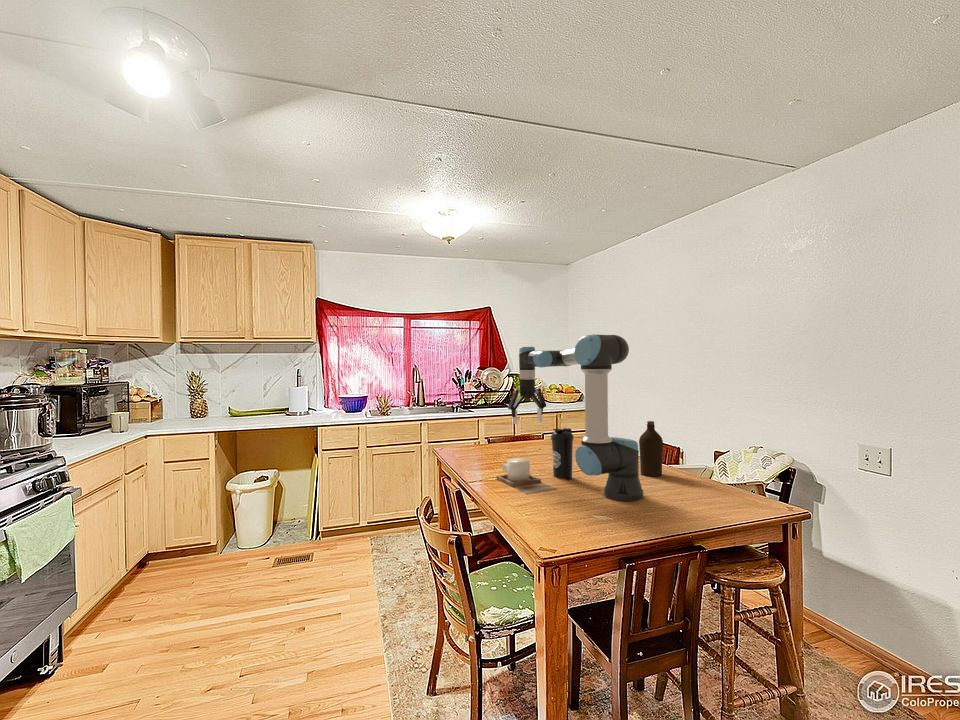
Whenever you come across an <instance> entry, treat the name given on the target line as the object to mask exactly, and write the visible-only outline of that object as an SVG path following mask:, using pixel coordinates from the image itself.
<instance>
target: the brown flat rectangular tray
mask: <svg viewBox="0 0 960 720" xmlns="http://www.w3.org/2000/svg"><path fill="white" fill-rule="evenodd" d="M496 480H497V481H499V482H501V483H503V484H505V485H507V486H509V487H511V488H513V489H516V490H517V491H519V492H521V493H523V494H526V495H533V494H539V493H544V492H545V493H546V492H550V491H555V490H558V488H556V487H553V486H552V485H549V484H547V483H544V482H542V479H541V478H539V477H537V476H535V475H532V474H530V480H528V481H521V482H515V483H513V482H511V481H509V480H507V474H501V475H496Z"/></svg>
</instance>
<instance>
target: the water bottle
mask: <svg viewBox="0 0 960 720" xmlns="http://www.w3.org/2000/svg"><path fill="white" fill-rule="evenodd" d="M550 440H551V447H552V448H551V451H552V452H551V453H552V454H551V456H552V472H553V475H552V476H553V477H554V478H556V479H565V480H567V481H571V480H572V479H573V451H574V450H573V449H574V448H573V446H574V444H573V443H574V435H573V433H572V428H570V427H564V428H553V432H552V433H551V435H550Z"/></svg>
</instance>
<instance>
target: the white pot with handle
mask: <svg viewBox="0 0 960 720" xmlns="http://www.w3.org/2000/svg"><path fill="white" fill-rule="evenodd" d="M530 465H531V464H530V459H528V458H524V457H523V458H522V457H517V458H515V457H514V458H509V459H507V460H506V463H501V468H502V469H501V471H503V472H505V473H507V474H506V475H507V480H509V481H511V482H513V483H515V482H521V481H528V480H530V475H531V471H530V470H531V469H530Z"/></svg>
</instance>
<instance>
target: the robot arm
mask: <svg viewBox="0 0 960 720" xmlns="http://www.w3.org/2000/svg"><path fill="white" fill-rule="evenodd" d="M629 347H630V346H629V344H628V342H627V341H626V340H625V338H624V337H623V336H621V335H617V334H587V335H583V336H581V337H580V338H579V340H578V341H577V342H576V344H575V347H573V348H567V349H562V350H541V349H540V350H536V347H535V346H520V347H519V349H518V351H519V353H518V362H519V363H518V364H519V365H518V366H519V367H518V368H519V371H518V372H519V376H518V377H519V383H518V385H519V389H515V388H514V389H513V394H512V397H511V398H510V401H509V403H508V406H507V409H508V410H511V417H512V424H513V425H518V410H517V409H518V407H519V405H520V404H521V403H522V401H523V400H524V399H531V400H533V402H534V403H535V405H536V406H537V408H536V409H537V411H536V414H537V415H536V416H537V417H536V418H537V421H536V422H538V423H542V422H543V419H542V416H543V414H544V409H545V408H546V407H547V404H546V402H545V399H544V396H543V394H542V390H541V388H539V387H536V380H535V378H536V368H537V367H538V368H547V367H548V368H549V367H552V368H553V367H569V366H574V365H580V370H581V371H582V372H583V373H584V416H585V417H584V418H585V419H584V421H585V423H584V425H585V426H584V427H585V428H584V429H585V431H584V432H585V434H584V436H583V437H582V438H581V443H580V445H579V446H578V447H577V448H576V450H575V453H574V456H575V457H574V458H575V462H576V465H577V468H579V469H580V471H581V472H582V473H583V474H584V475H586V476H600V475H604V474H608V476H607V480H606V484H605V487H604V488H603V489H604V490H603V495H604V496H605V497H606V498H608V499H611V500H615V501H618V502H619V501H620V502H636V501H640V500H642V499H644V489H643V488H642V483H641V481H640V477H639V472H640V471H639V467H640V466H639V464H640V463H639V462H640V449H639V442H637V440H634V439H630V438H624V437H616V436H615V437H613V436H611V437H610V436H609V416H608V415H609V408H608V407H609V401H608V400H609V399H608V397H609V394H608V393H609V392H608V391H609V384H608V383H609V381H608V379H609V377H608V376H609V375H608V374H609V373H610V372H611V371H612V368H613V367H612V366H613V365H616V364H620V363H623V361H625V360H626V359H627V357H628V355H629V351H630V348H629ZM535 393H536V394H535ZM518 395H519V396H518Z"/></svg>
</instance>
